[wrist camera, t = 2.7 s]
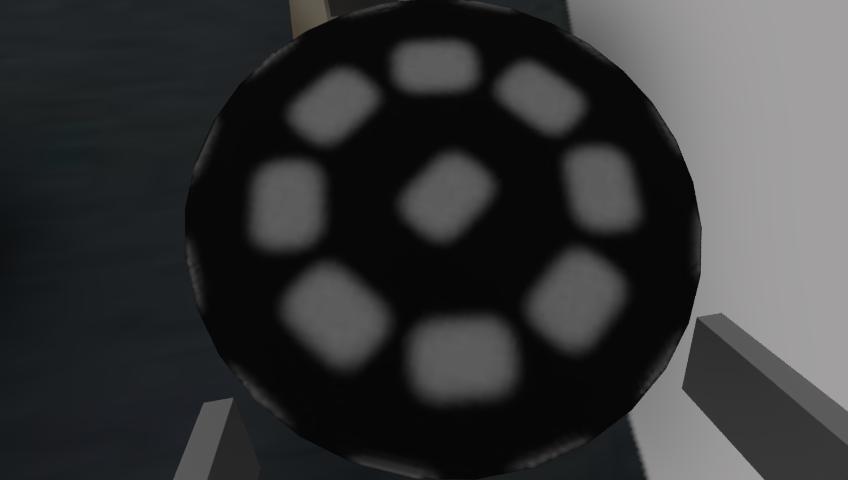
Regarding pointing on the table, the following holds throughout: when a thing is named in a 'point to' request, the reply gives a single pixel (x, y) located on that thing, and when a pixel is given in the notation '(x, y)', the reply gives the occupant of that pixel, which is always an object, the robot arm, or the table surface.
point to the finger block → (349, 6)
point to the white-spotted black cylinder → (443, 239)
